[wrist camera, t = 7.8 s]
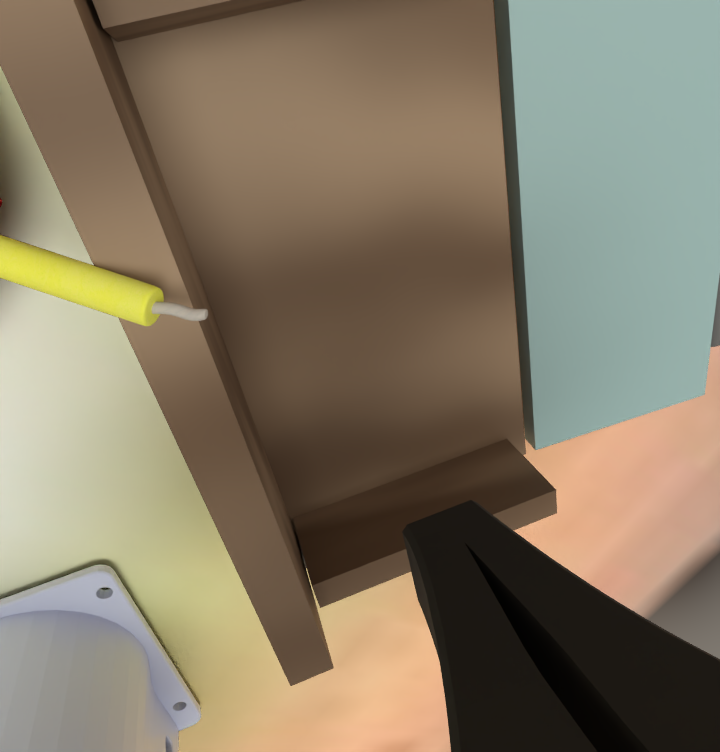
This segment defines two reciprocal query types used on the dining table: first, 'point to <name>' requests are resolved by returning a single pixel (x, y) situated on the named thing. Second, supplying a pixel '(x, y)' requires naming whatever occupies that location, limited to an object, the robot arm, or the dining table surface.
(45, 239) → the dining table surface
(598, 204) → the panel
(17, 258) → the cupcake
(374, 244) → the cart bed
